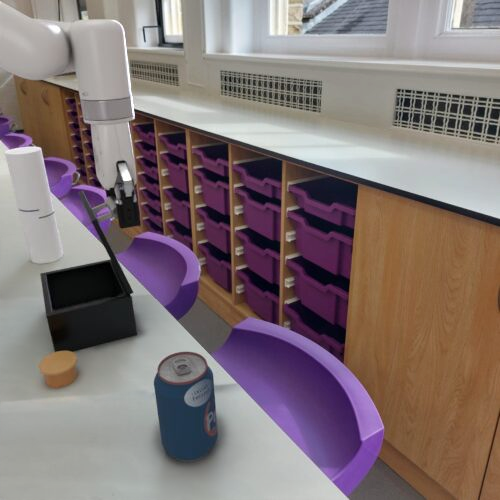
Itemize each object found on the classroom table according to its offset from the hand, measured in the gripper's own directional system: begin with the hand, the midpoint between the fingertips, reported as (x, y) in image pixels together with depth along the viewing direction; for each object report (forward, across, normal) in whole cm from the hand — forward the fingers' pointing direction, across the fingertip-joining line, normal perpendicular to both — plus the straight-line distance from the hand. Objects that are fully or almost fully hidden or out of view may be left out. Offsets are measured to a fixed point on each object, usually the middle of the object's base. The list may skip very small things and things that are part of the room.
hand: (123, 216), depth 80 cm
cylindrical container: (+20, -36, -13) cm, 43 cm away
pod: (+20, +14, -14) cm, 28 cm away
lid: (+4, 0, -4) cm, 5 cm away
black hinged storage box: (+20, 0, -8) cm, 21 cm away
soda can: (+20, +32, -1) cm, 38 cm away
